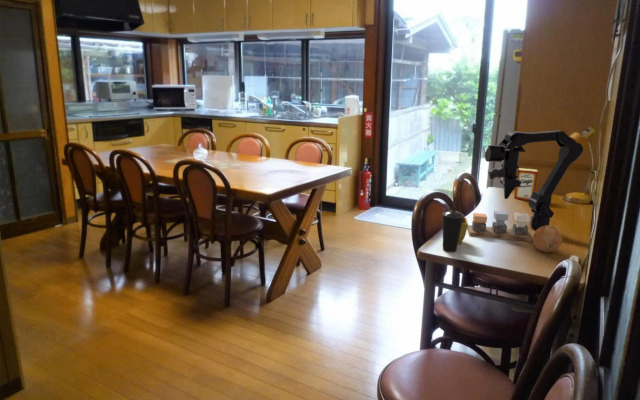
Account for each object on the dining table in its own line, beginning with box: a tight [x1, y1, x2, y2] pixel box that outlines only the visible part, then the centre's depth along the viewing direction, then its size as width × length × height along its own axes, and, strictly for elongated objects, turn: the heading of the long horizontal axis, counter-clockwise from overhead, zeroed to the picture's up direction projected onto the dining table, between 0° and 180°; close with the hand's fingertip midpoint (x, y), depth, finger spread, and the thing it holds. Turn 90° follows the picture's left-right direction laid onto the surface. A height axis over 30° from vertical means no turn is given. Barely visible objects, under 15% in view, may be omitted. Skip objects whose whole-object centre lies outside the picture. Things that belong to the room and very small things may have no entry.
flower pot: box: [458, 216, 469, 245], centre depth 183 cm, size 9×9×9 cm
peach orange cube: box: [472, 212, 488, 224], centre depth 195 cm, size 5×5×5 cm
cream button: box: [513, 211, 531, 228], centre depth 191 cm, size 5×5×5 cm
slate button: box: [493, 210, 510, 226], centre depth 193 cm, size 5×5×5 cm
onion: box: [532, 224, 563, 253], centre depth 176 cm, size 10×10×10 cm
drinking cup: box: [441, 196, 465, 253], centre depth 173 cm, size 8×8×20 cm
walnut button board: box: [467, 220, 534, 242], centre depth 194 cm, size 24×10×4 cm, turn 79°
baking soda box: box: [513, 167, 539, 201], centre depth 255 cm, size 10×6×16 cm
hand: (505, 198), depth 200 cm, fingers closed
